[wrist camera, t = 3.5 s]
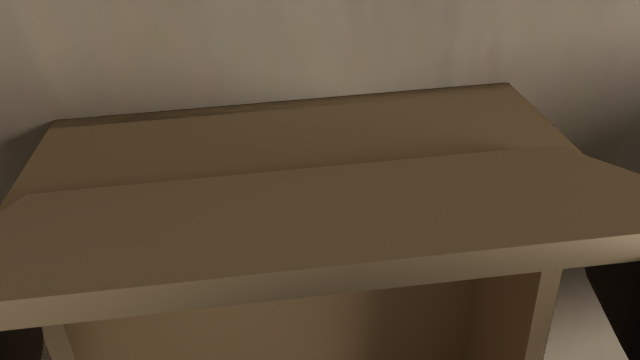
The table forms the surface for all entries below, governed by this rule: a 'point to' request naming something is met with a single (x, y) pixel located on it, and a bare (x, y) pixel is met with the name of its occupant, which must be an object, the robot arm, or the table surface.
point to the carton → (299, 153)
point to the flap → (310, 233)
